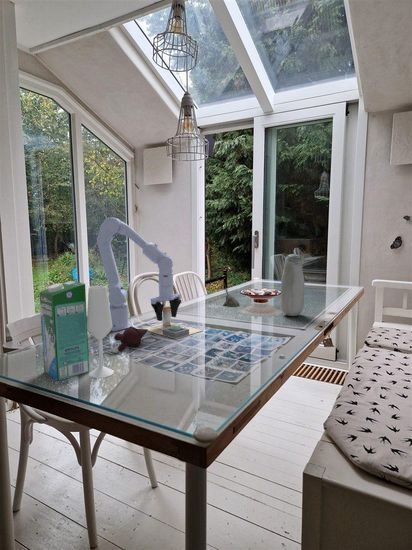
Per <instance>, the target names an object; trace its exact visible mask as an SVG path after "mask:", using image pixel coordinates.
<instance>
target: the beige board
mask: <svg viewBox="0 0 412 550" xmlns="http://www.w3.org/2000/svg"><path fill="white" fill-rule="evenodd" d="M172 324H175V323H173V322H171V325H172ZM180 325H181V327H182V328H186V329H189V334H187V335H184V336H180V337H177V338H174V337H170V336H167V335H163V330H164V329H167V328H171V326H163V323H160V324H156V325H152V326H149V327H143V328H142V329H148V331H147V332H150V333H153V334H157V335H161V336H165V337H168V338H172V339H175V340H178V339H181V338H185V337H188V336H192V335H194V334H198V333H202V332H204V330H202V329H197V328H194V327H191V326H185V325H182V324H180Z"/></svg>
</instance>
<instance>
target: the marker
mask: <svg viewBox="0 0 412 550" xmlns="http://www.w3.org/2000/svg"><path fill="white" fill-rule="evenodd" d="M171 317H172V316H171V307H170V306H163V311H162V324H163V326H171V323H172V322H171V321H172V319H171Z"/></svg>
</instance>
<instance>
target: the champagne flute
mask: <svg viewBox="0 0 412 550" xmlns="http://www.w3.org/2000/svg"><path fill="white" fill-rule="evenodd" d="M109 305H110V303H109V290H108V286H107V285H92V286H89V287H88V294H87V308H86V311H87V332H88V333H89V335H91V336H92V337H93V338H95V339H97V348H98V349H97V352H98V353H97V354H98V367H96V368H95V369H93V370H92V371H89V372H88V373H89V374H88V376H89V377H91V378H95V379H97V378H100V379H101V378H106V377H110V376H112V375H113V374H114V373H115V370H113V369H111V368H109V367H106V366H104V350H103V349H104V348H103V339H104V338H105V337H106V336H107V335H108V334H110V332H111V328H112V320H111V313H110V306H109Z"/></svg>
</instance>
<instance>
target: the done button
mask: <svg viewBox="0 0 412 550" xmlns="http://www.w3.org/2000/svg"><path fill="white" fill-rule="evenodd" d="M181 325H182V324H180V323H174V324H172V325H171V331H174V332H177V331H180V330H181Z"/></svg>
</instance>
